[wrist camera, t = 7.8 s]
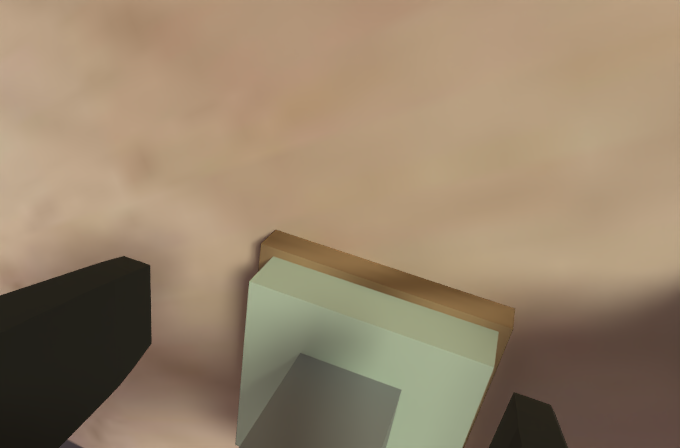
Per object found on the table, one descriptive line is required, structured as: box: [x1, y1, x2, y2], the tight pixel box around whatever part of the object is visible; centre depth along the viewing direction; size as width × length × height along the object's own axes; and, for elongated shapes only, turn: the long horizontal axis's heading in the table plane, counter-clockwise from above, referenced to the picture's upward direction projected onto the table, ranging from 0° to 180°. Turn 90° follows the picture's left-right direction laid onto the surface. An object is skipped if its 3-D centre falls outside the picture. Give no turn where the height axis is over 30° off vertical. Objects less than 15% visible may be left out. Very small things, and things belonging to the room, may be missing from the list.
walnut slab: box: [258, 230, 515, 448], centre depth 23 cm, size 10×10×2 cm
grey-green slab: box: [235, 256, 499, 448], centre depth 21 cm, size 9×9×2 cm
